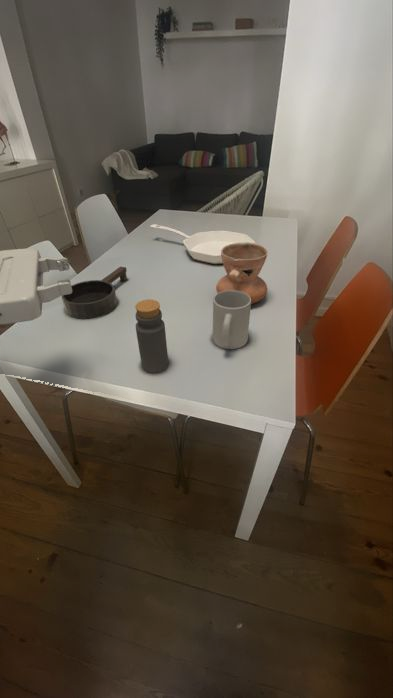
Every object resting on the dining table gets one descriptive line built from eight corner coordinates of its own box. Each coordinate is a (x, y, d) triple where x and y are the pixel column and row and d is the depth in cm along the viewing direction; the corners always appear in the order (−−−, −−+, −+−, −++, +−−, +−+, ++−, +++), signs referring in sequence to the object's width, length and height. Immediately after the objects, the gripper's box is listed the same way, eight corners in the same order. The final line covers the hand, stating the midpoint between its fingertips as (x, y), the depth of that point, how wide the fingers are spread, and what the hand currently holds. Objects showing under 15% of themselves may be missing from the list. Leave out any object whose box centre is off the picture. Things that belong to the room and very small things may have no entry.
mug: (216, 327, 81) (216, 288, 74) (249, 331, 79) (253, 291, 73) (205, 356, 72) (205, 314, 65) (243, 361, 70) (247, 319, 63)
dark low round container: (55, 313, 88) (50, 299, 85) (86, 290, 98) (83, 277, 96) (98, 323, 84) (94, 308, 81) (126, 298, 94) (124, 284, 91)
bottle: (170, 356, 72) (165, 298, 63) (165, 374, 67) (159, 313, 58) (145, 355, 73) (136, 297, 63) (139, 372, 68) (128, 312, 59)
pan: (234, 272, 107) (235, 253, 103) (134, 249, 125) (131, 233, 121) (262, 247, 124) (264, 231, 120) (170, 231, 142) (169, 216, 138)
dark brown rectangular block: (103, 293, 97) (100, 280, 94) (122, 278, 105) (120, 266, 102) (109, 295, 96) (106, 281, 93) (128, 279, 104) (126, 267, 101)
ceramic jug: (256, 316, 84) (262, 266, 76) (206, 306, 89) (206, 257, 81) (273, 288, 97) (279, 241, 88) (228, 280, 102) (230, 235, 93)
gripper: (-50, 302, 39) (67, 282, 43) (-22, 247, 54) (62, 236, 58) (-27, 343, 43) (79, 322, 47) (-7, 281, 58) (71, 268, 62)
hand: (70, 274), depth 52 cm, fingers open, 8 cm apart
